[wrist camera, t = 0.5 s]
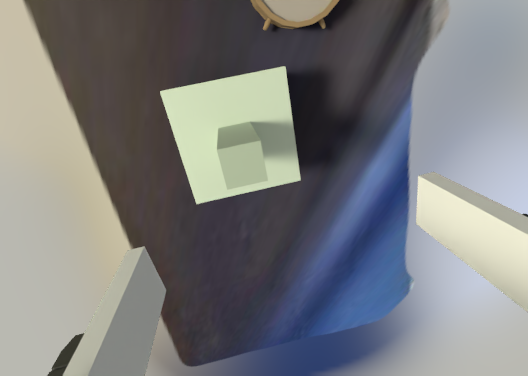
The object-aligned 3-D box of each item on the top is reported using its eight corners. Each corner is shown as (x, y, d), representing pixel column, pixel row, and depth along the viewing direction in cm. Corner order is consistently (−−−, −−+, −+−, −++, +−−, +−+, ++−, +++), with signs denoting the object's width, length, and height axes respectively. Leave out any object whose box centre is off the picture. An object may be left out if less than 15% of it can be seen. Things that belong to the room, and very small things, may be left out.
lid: (162, 90, 28) (132, 99, 19) (282, 66, 29) (312, 63, 19) (197, 199, 33) (187, 248, 24) (298, 176, 34) (326, 215, 25)
